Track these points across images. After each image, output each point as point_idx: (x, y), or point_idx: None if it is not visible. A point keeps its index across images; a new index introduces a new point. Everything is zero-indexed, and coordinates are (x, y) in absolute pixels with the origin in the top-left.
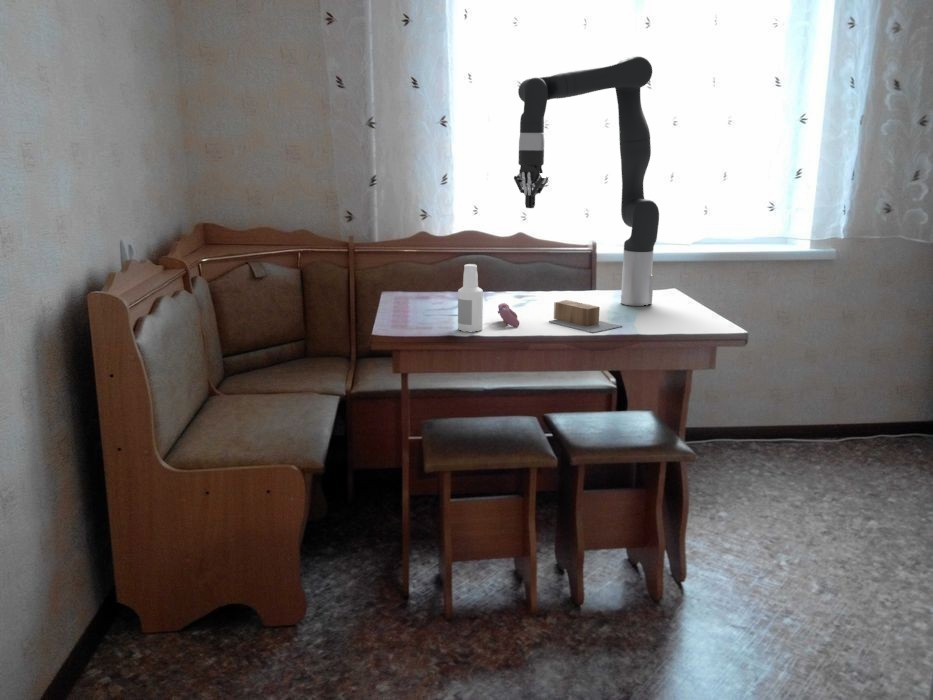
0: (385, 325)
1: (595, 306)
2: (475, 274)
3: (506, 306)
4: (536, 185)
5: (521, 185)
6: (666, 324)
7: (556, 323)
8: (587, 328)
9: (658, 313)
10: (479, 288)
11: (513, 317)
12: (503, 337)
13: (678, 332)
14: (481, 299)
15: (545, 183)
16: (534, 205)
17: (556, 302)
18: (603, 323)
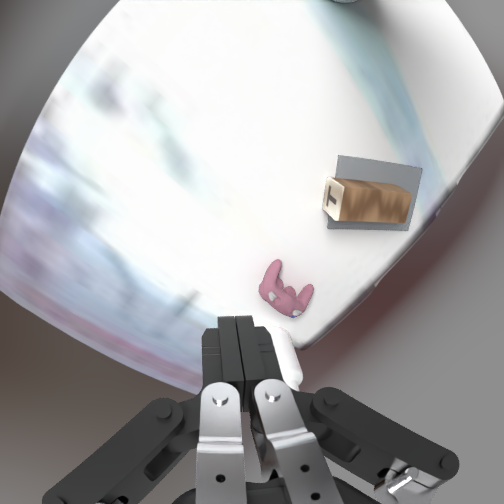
0: (184, 386)
1: (406, 195)
2: None
3: (295, 308)
4: (356, 464)
5: (159, 476)
6: (451, 107)
7: (344, 228)
8: None
9: (411, 36)
10: (297, 378)
11: (309, 299)
12: (330, 328)
13: (472, 144)
14: (299, 365)
15: (422, 440)
16: (267, 331)
17: (340, 220)
18: (398, 174)
